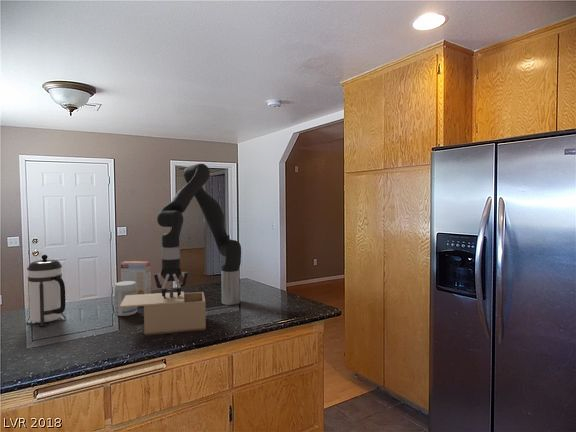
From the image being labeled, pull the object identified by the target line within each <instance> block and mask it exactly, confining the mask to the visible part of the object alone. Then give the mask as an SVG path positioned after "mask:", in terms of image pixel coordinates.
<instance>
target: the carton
mask: <svg viewBox="0 0 576 432" xmlns="http://www.w3.org/2000/svg"><path fill="white" fill-rule="evenodd" d="M206 305H207V303H206V297H205V293H204V292H203V291H199V292H196V291H195V292H184V303H176V304H162V305H148V306H143V318H144V319H143V321H144V322H143V325H144V326H143V329H144V333H143V334H144V336H152V335H153V336H154V335H164V334H175V333H184V332H185V333H186V332H196V331H206V330H207V327H206V326H207V325H206V324H207V322H206V319H207V318H206V316H207V315H206V311H207V310H206V307H207V306H206Z"/></svg>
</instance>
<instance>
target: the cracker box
mask: <svg viewBox="0 0 576 432" xmlns="http://www.w3.org/2000/svg"><path fill="white" fill-rule="evenodd" d="M151 269H152V268H151V261H150V260H149V261H148V260H147V261H145V260H137V261H136V260H131V261H130V260H126V261H122V262H120V282H123V281H135V282H136V288H137V295H139V294H152V279H151V278H152V277H151V276H152V275H151V272H152V271H151Z"/></svg>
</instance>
